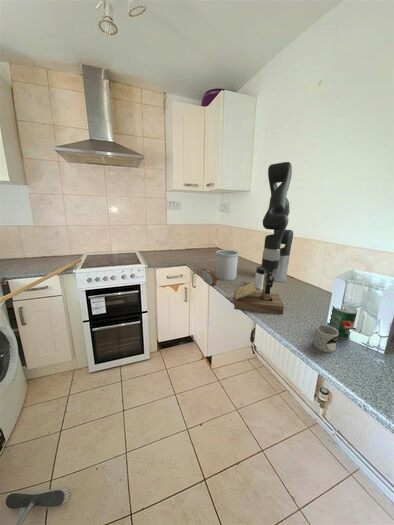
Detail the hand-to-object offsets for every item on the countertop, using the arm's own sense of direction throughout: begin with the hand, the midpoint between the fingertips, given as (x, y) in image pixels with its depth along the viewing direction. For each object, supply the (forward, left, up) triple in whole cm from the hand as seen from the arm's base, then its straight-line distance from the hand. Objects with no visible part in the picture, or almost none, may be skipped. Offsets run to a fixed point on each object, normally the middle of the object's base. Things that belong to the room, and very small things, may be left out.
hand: (266, 291), depth 105 cm
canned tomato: (+18, +26, -8) cm, 33 cm away
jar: (-25, +1, -8) cm, 26 cm away
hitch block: (0, -4, -7) cm, 8 cm away
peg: (0, 0, -3) cm, 3 cm away
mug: (+27, +18, -8) cm, 33 cm away
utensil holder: (-38, -21, -8) cm, 44 cm away
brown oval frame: (-24, -31, -8) cm, 40 cm away
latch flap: (0, -10, -1) cm, 10 cm away
